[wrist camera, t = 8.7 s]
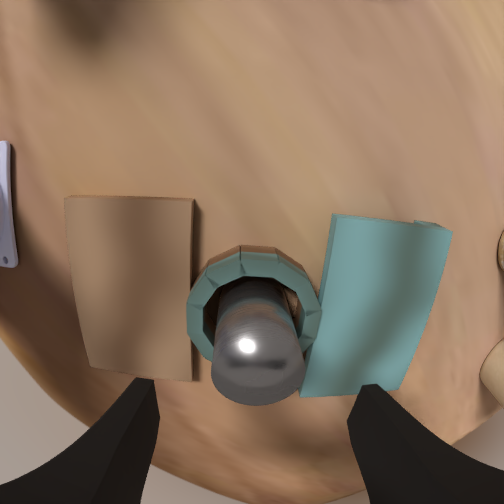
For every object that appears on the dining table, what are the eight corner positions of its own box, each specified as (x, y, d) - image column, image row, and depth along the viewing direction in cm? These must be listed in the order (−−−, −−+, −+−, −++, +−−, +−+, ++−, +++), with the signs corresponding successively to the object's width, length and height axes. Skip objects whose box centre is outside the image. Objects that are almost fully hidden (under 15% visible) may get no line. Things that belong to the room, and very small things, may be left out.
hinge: (94, 359, 18) (83, 378, 16) (71, 195, 14) (52, 202, 12) (389, 373, 19) (399, 391, 17) (435, 223, 15) (454, 232, 14)
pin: (219, 327, 17) (212, 404, 11) (219, 270, 16) (209, 335, 10) (282, 329, 17) (298, 404, 12) (288, 272, 16) (312, 337, 10)
